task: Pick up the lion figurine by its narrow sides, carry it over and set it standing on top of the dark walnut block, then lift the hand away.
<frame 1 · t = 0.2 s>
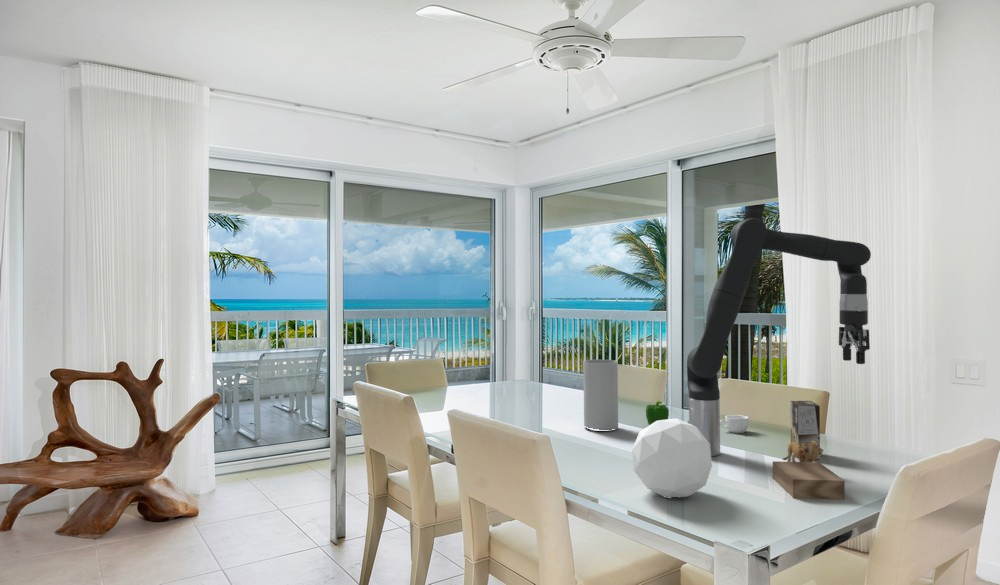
hand: (853, 362, 190), 29 cm above the table, tool pointing down, fingers open, 8 cm apart
ball: (672, 495, 157), on the table
cylinder vase: (601, 429, 231), on the table
walnut block: (806, 489, 161), on the table
bell pepper: (657, 427, 234), on the table
lion figurine: (801, 469, 178), on the table
coffee box: (805, 455, 192), on the table
teacup: (733, 432, 223), on the table
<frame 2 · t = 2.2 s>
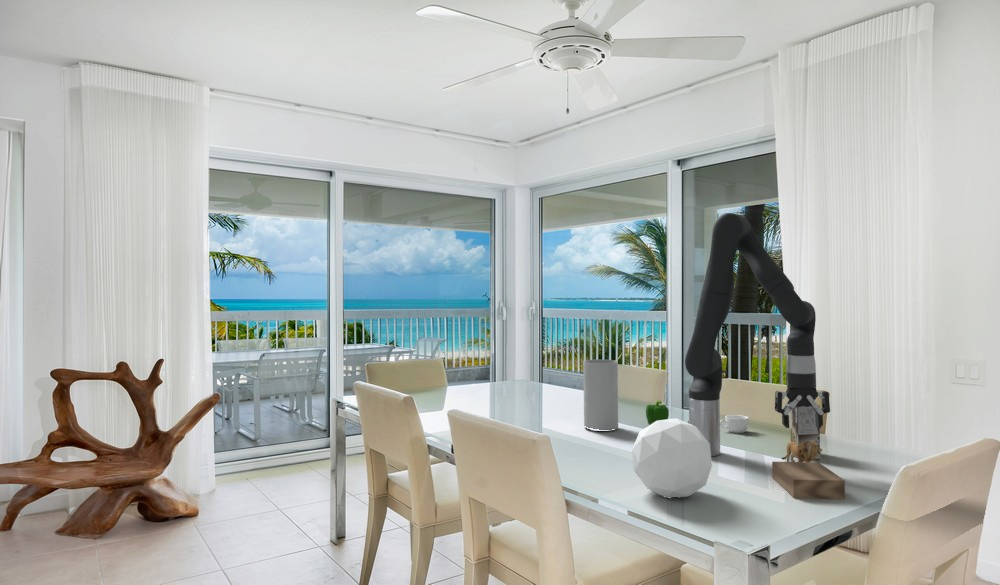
hand: (802, 427, 178), 12 cm above the table, tool pointing down, fingers open, 8 cm apart
nothing on the table moved.
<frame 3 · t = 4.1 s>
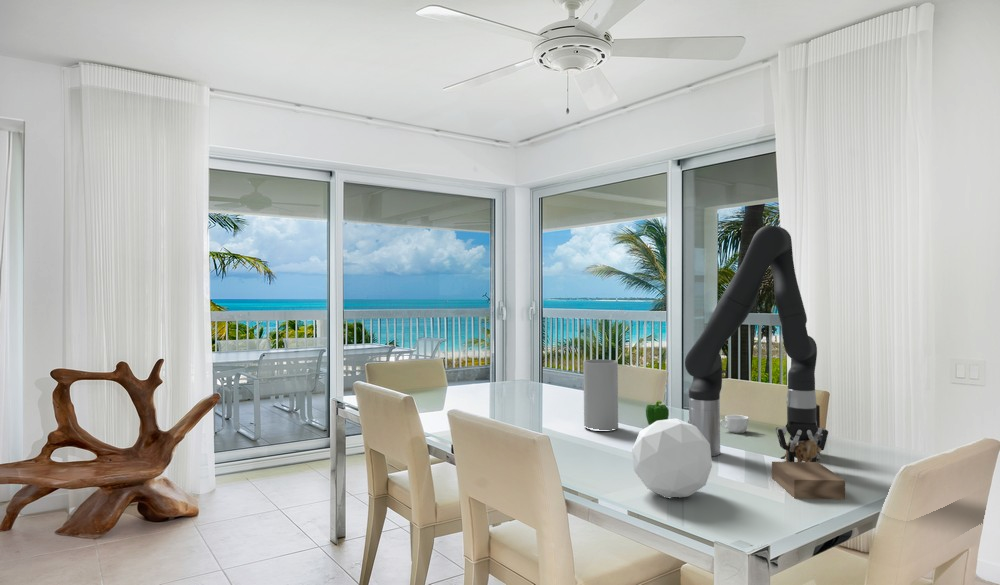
hand: (802, 464, 178), 1 cm above the table, tool pointing down, fingers closed on lion figurine, 4 cm apart
lion figurine: (799, 468, 179), on the table, touching gripper
everything else where it was.
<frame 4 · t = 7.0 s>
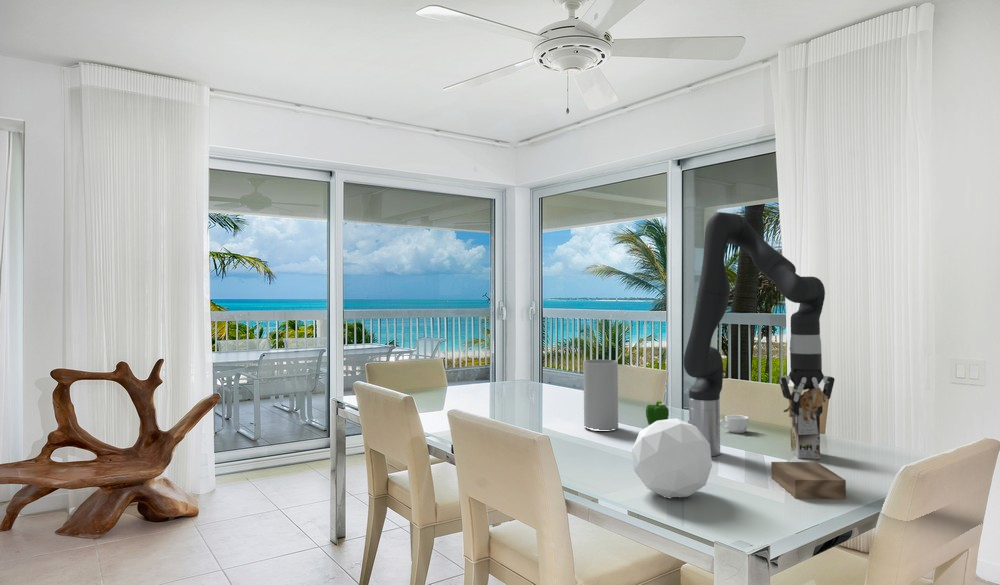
hand: (807, 414, 166), 18 cm above the table, tool pointing down, fingers closed on lion figurine, 4 cm apart
lion figurine: (804, 419, 167), point 16 cm above the table, touching gripper
everything else where it was.
when the fingers open (7 cm above the table, at t = 10.2 s): lion figurine drops 2 cm, resting on walnut block.
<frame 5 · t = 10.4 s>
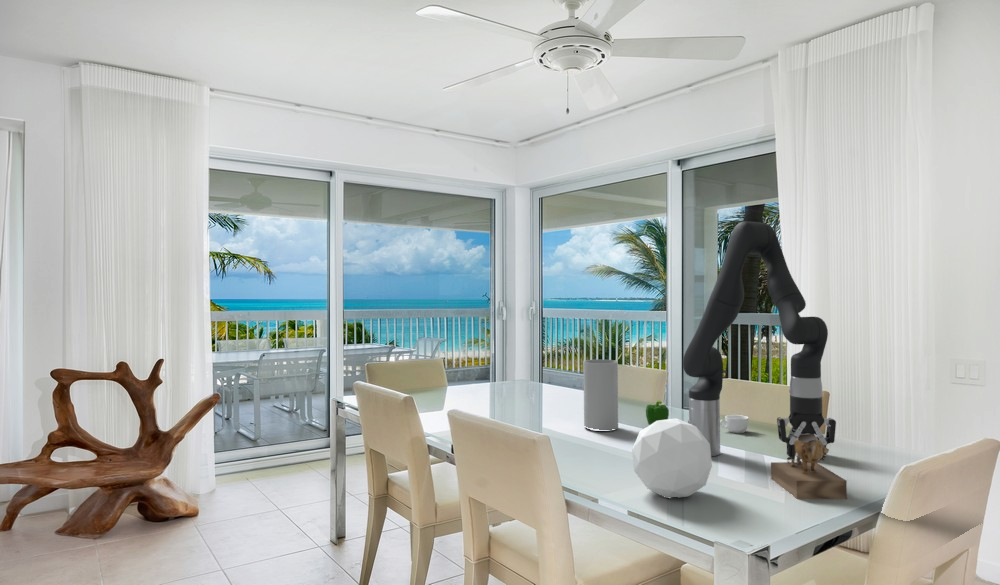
hand: (806, 458, 161), 8 cm above the table, tool pointing down, fingers open, 6 cm apart
walnut block: (806, 490, 161), on the table, touching lion figurine
lion figurine: (806, 470, 162), point 4 cm above the table, touching walnut block
everything else where it was.
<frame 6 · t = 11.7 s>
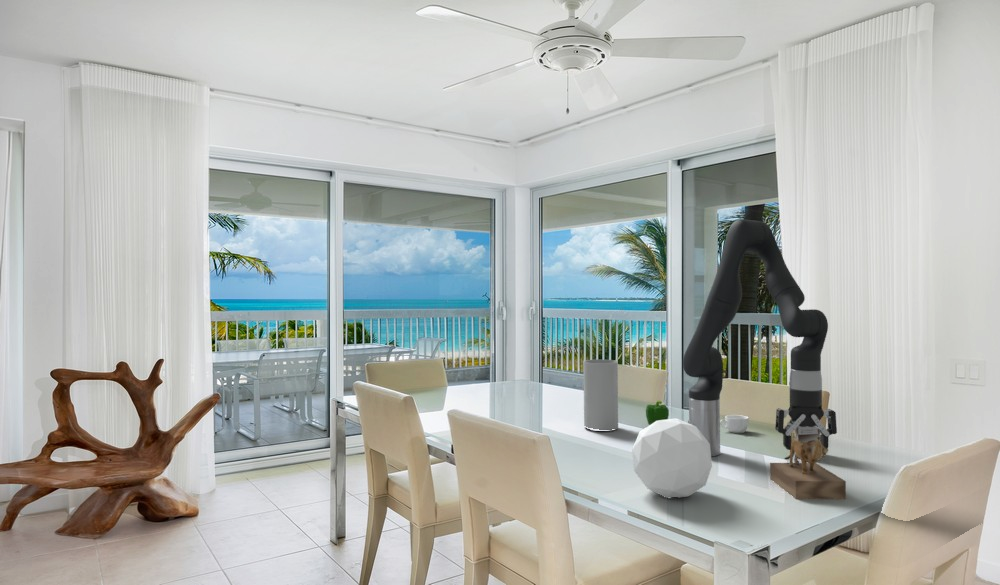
hand: (805, 449, 161), 10 cm above the table, tool pointing down, fingers open, 8 cm apart
nothing on the table moved.
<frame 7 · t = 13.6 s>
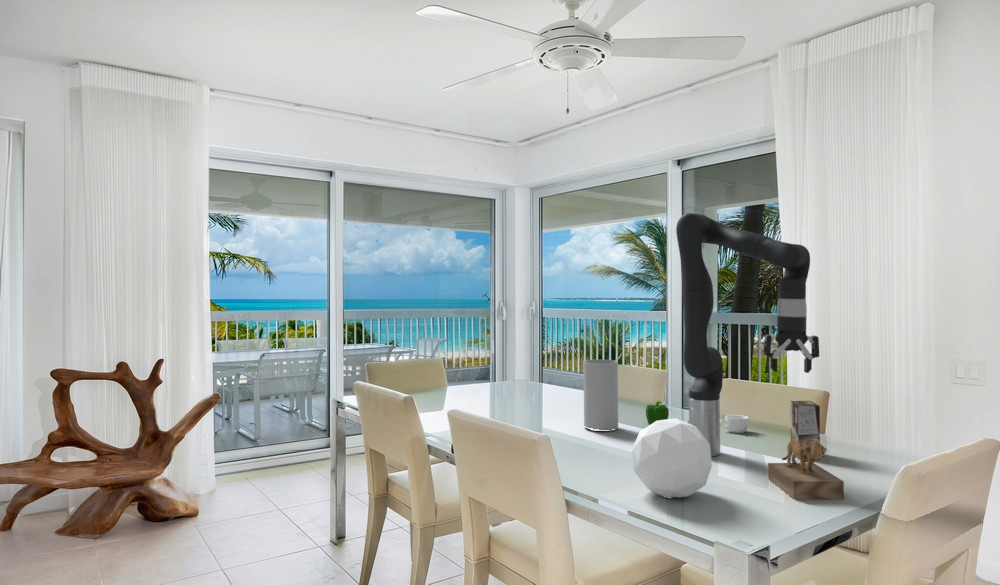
hand: (790, 372, 176), 28 cm above the table, tool pointing down, fingers open, 8 cm apart
walnut block: (804, 491, 160), on the table
lion figurine: (803, 470, 162), point 4 cm above the table
everything else where it was.
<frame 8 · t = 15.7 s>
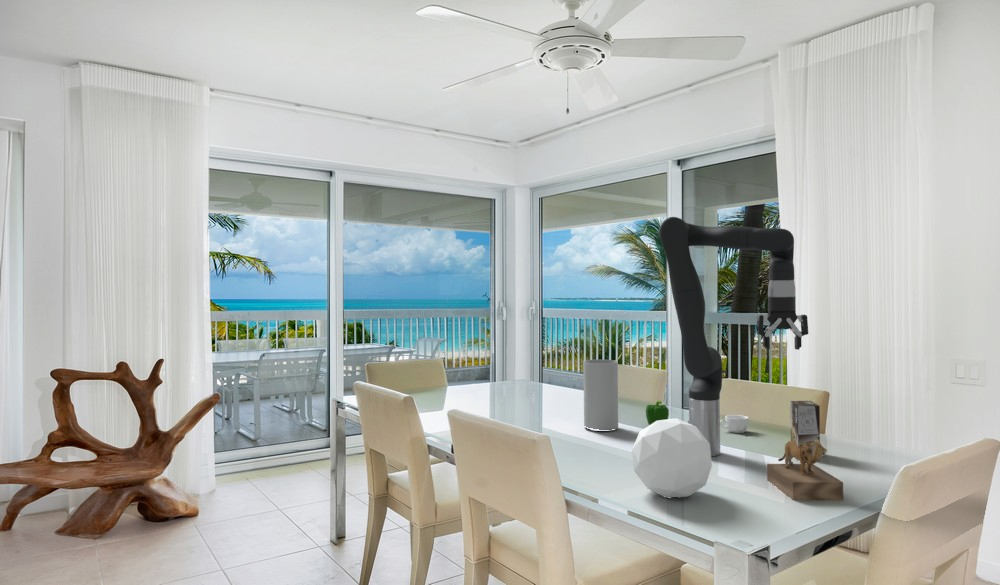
hand: (782, 349, 188), 33 cm above the table, tool pointing down, fingers open, 8 cm apart
walnut block: (803, 492, 159), on the table, touching lion figurine
lion figurine: (801, 471, 161), point 4 cm above the table, touching walnut block
everything else where it was.
at the end: lion figurine inside the target area on the walnut block (1.7 cm from its centre), point 4.8 cm above the walnut block's base; the gripper is holding nothing; lion figurine tilted 1° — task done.
